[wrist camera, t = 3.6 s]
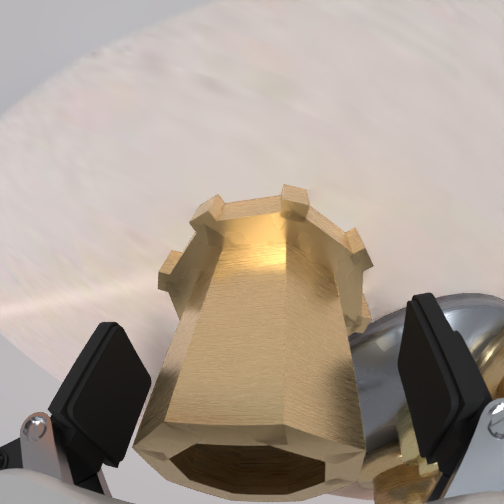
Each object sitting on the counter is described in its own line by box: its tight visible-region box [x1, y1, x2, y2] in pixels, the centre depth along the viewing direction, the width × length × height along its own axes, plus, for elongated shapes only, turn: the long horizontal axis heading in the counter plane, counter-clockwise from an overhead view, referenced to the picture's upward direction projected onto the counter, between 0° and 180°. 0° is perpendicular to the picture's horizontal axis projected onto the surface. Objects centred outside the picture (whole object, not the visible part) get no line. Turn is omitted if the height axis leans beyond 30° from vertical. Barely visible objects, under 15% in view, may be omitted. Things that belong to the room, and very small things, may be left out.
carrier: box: [342, 293, 504, 504], centre depth 12 cm, size 18×19×9 cm
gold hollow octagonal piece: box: [132, 184, 373, 502], centre depth 9 cm, size 8×8×8 cm
